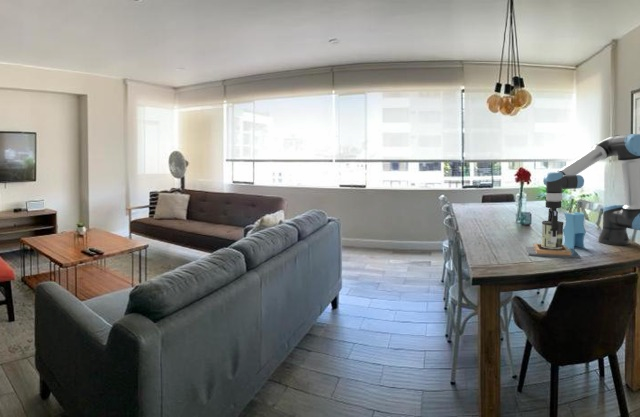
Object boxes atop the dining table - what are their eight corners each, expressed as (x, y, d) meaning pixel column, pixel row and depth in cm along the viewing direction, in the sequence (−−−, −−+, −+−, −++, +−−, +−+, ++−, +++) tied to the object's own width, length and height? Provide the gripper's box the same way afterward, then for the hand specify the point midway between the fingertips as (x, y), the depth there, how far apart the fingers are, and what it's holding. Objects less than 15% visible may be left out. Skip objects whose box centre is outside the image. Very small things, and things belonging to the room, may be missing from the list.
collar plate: (573, 250, 224) (573, 245, 224) (579, 258, 209) (580, 252, 208) (525, 248, 233) (525, 243, 233) (528, 255, 218) (528, 249, 217)
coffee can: (558, 244, 225) (559, 220, 223) (565, 249, 215) (566, 223, 213) (538, 244, 227) (539, 220, 225) (544, 249, 217) (545, 223, 215)
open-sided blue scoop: (574, 245, 238) (575, 212, 235) (584, 247, 230) (586, 213, 227) (562, 246, 236) (563, 212, 234) (572, 248, 229) (574, 214, 226)
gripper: (543, 198, 229) (541, 235, 232) (548, 202, 208) (547, 244, 211) (557, 198, 226) (556, 236, 229) (565, 203, 205) (563, 245, 208)
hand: (551, 240), depth 220 cm, fingers closed on coffee can, 10 cm apart
